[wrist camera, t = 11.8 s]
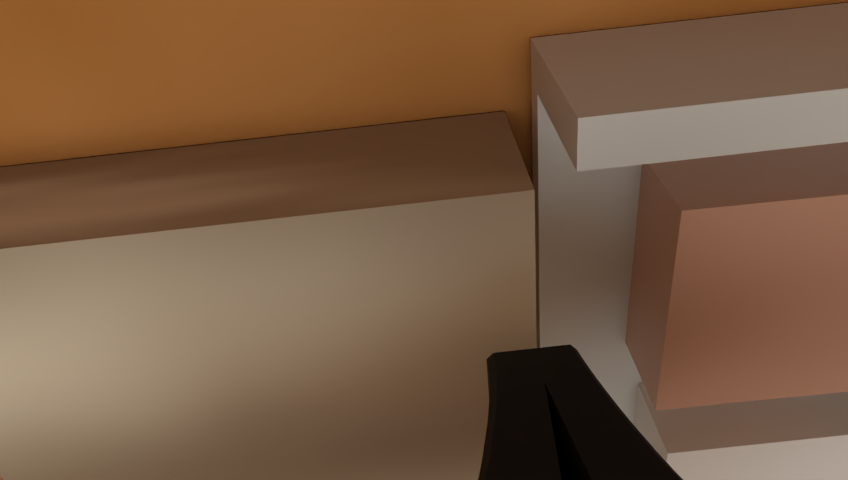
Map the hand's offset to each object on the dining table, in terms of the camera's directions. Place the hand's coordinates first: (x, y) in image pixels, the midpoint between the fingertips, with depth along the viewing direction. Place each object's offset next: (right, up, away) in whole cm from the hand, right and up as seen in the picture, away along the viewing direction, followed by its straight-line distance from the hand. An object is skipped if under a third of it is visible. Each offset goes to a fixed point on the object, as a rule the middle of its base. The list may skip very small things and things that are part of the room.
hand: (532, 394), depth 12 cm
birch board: (-5, -1, +5) cm, 7 cm away
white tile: (+6, -3, +4) cm, 8 cm away
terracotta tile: (+5, +1, +1) cm, 5 cm away
